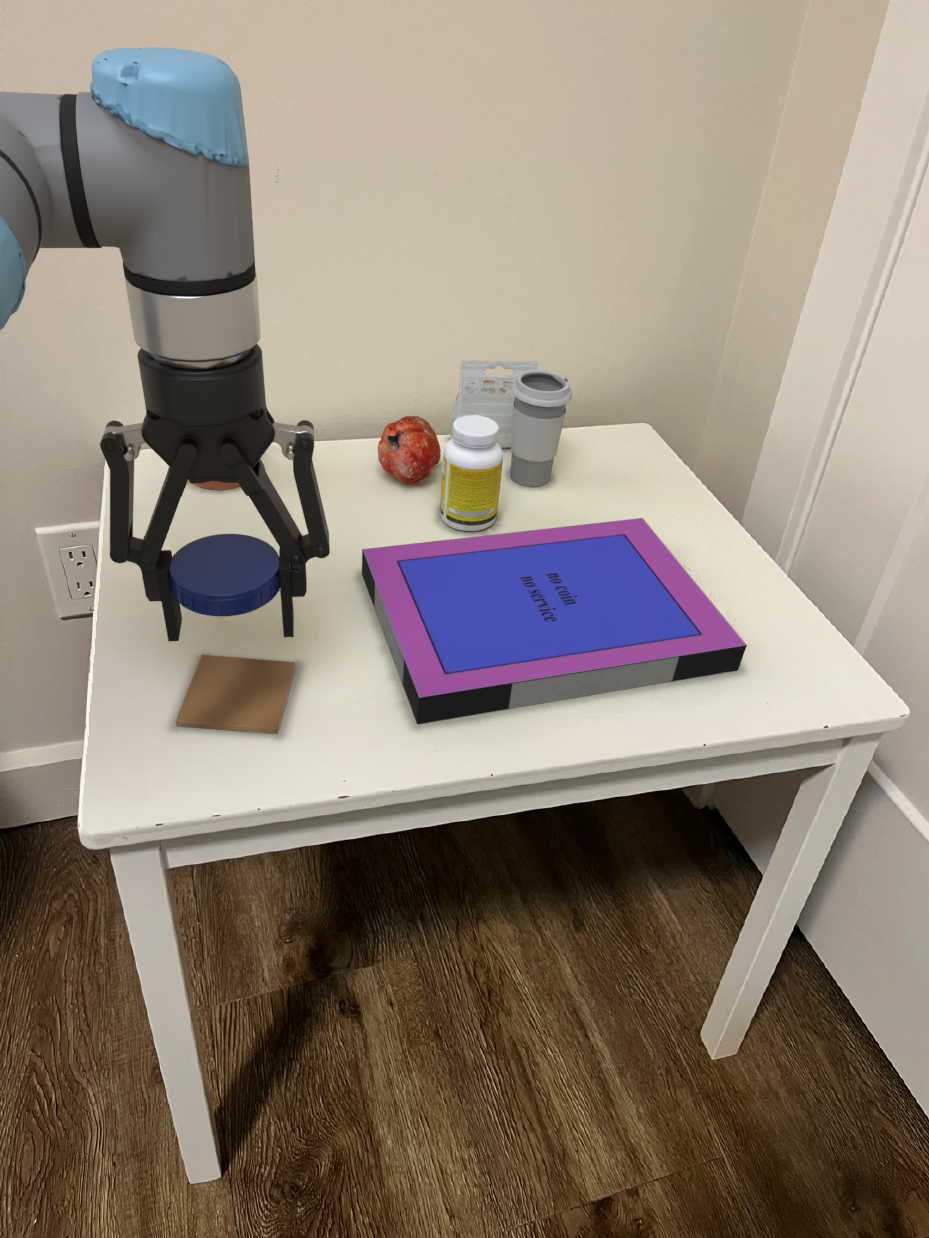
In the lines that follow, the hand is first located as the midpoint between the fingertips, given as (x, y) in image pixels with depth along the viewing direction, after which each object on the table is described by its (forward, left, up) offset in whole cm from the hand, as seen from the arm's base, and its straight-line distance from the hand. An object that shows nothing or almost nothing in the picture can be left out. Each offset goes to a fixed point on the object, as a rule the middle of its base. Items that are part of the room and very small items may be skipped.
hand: (232, 627), depth 71 cm
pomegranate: (+11, +38, -7) cm, 40 cm away
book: (+25, +13, -7) cm, 30 cm away
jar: (-10, +35, -7) cm, 37 cm away
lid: (0, 0, +6) cm, 6 cm away
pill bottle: (+18, +30, -7) cm, 36 cm away
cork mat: (0, 0, -7) cm, 7 cm away
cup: (+25, +40, -7) cm, 48 cm away
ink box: (+20, +47, -7) cm, 52 cm away
